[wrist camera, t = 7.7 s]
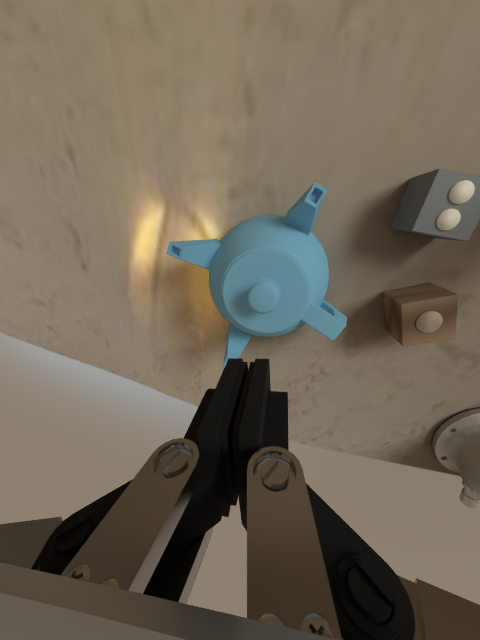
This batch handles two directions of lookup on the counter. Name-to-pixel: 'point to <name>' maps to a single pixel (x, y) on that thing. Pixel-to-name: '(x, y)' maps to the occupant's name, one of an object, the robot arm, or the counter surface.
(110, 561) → the robot arm
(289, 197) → the counter surface
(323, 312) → the teapot
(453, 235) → the charcoal block
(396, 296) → the walnut block
